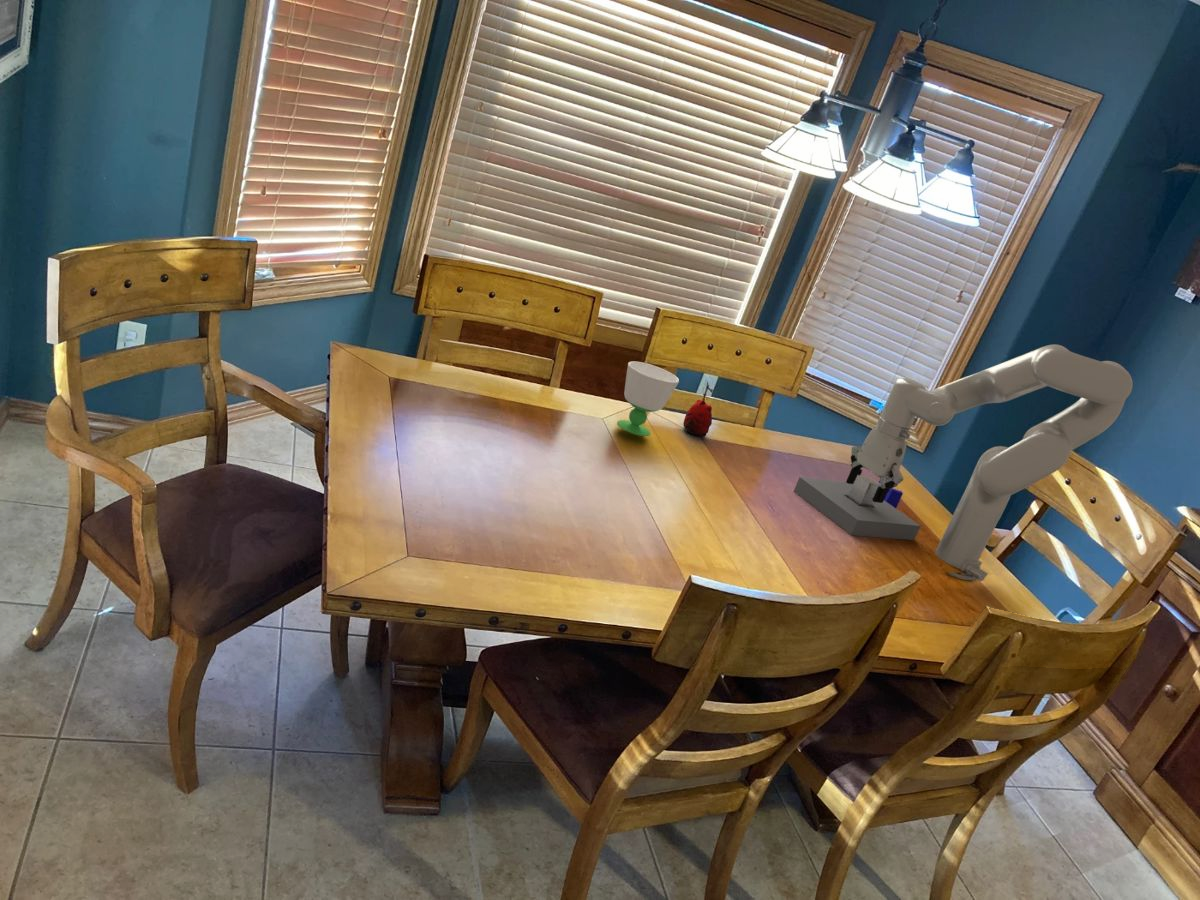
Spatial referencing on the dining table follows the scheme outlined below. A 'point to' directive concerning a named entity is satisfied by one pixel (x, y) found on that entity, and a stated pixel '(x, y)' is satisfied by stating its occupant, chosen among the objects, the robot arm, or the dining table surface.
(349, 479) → the dining table surface
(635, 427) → the cup
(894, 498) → the blue stepped block
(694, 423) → the red fruit with stem
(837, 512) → the well block
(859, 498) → the metal bar
